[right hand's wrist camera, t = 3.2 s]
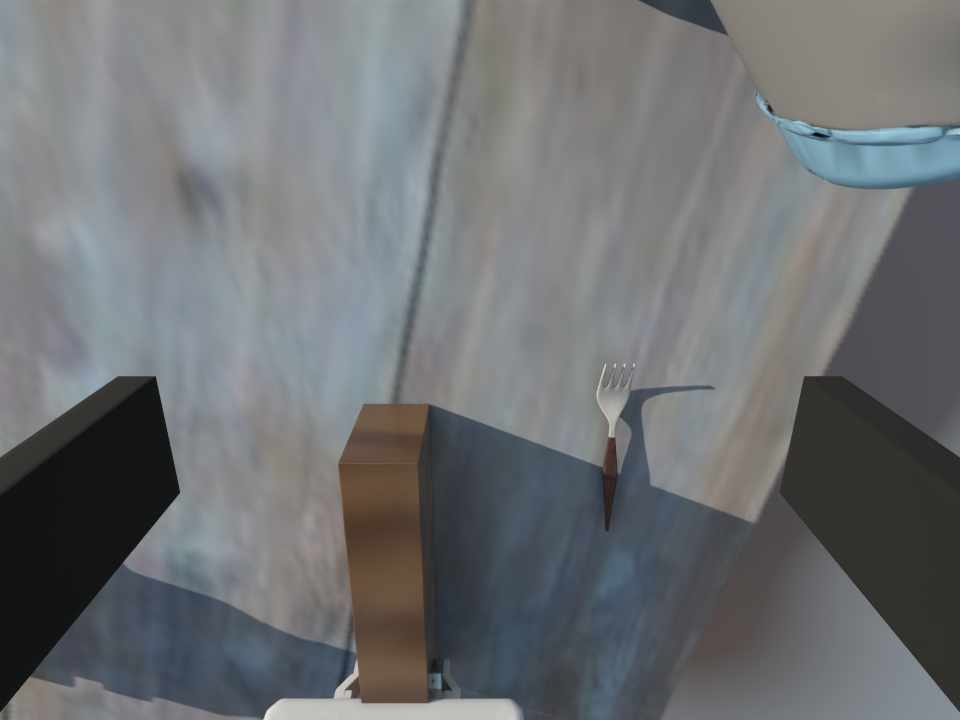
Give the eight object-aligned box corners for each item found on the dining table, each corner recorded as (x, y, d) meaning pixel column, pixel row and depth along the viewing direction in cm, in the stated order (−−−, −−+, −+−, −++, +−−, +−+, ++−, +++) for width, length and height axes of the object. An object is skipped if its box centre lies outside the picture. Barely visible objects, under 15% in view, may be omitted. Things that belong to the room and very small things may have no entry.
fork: (590, 527, 52) (594, 542, 50) (598, 355, 46) (602, 364, 44) (620, 527, 52) (626, 542, 50) (632, 354, 46) (638, 363, 44)
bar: (363, 403, 48) (337, 463, 39) (429, 403, 48) (418, 463, 39) (383, 665, 58) (366, 758, 49) (438, 665, 58) (430, 758, 49)
